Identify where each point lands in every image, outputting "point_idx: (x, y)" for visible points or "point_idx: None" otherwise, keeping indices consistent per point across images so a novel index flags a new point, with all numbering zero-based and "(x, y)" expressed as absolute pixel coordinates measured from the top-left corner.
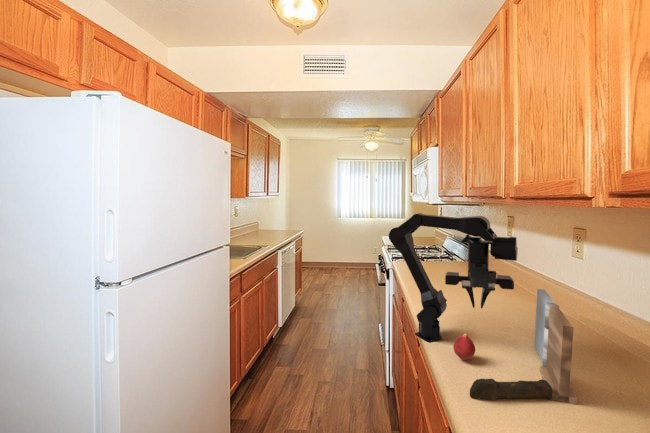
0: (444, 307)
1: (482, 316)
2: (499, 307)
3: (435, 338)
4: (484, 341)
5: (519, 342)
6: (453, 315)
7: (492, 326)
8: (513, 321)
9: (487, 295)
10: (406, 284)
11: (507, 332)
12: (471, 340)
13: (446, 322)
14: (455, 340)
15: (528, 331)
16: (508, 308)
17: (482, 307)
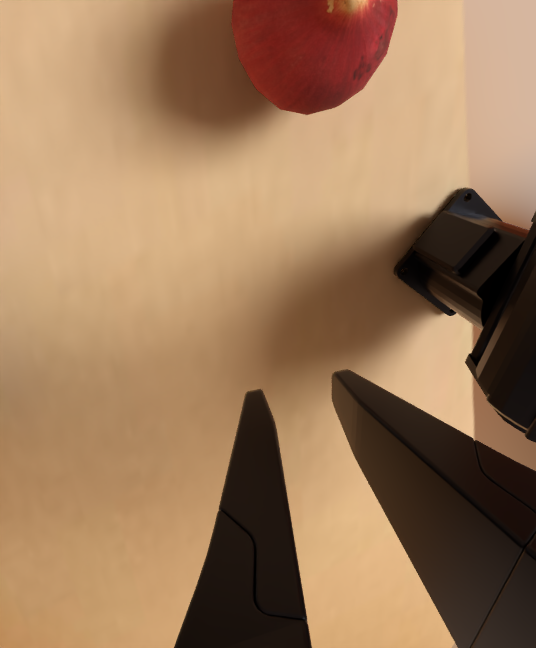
0: (528, 354)
1: None
2: None
3: (437, 220)
4: (203, 340)
5: (52, 411)
6: (339, 491)
7: (190, 486)
8: (122, 558)
9: (197, 598)
10: None
11: (123, 470)
12: (278, 26)
13: None
14: (396, 12)
15: (46, 519)
16: (158, 624)
17: (246, 396)
